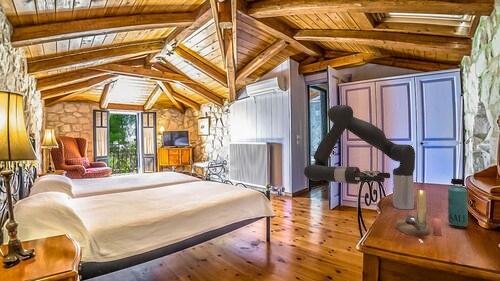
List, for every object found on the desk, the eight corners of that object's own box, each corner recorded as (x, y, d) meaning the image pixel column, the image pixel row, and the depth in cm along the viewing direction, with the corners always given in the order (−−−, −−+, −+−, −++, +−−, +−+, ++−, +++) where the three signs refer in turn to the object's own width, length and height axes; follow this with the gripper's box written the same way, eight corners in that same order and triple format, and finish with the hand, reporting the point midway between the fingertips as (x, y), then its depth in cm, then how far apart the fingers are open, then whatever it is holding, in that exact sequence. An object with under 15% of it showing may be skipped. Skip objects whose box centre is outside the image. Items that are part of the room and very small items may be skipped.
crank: (403, 220, 105) (402, 184, 105) (416, 220, 104) (416, 185, 104) (416, 230, 93) (415, 191, 93) (431, 231, 92) (430, 191, 92)
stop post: (432, 233, 98) (431, 218, 98) (438, 233, 98) (438, 218, 98) (436, 236, 96) (436, 220, 96) (443, 235, 96) (442, 220, 96)
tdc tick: (418, 239, 93) (418, 239, 93) (421, 239, 93) (421, 239, 93) (420, 242, 90) (420, 242, 90) (423, 243, 90) (423, 242, 90)
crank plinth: (391, 226, 107) (391, 219, 107) (417, 225, 108) (417, 218, 108) (407, 236, 96) (407, 228, 96) (436, 235, 97) (436, 227, 97)
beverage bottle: (458, 224, 108) (458, 177, 107) (473, 229, 101) (472, 179, 101) (443, 224, 107) (443, 177, 107) (457, 230, 101) (456, 180, 101)
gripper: (340, 168, 108) (381, 170, 97) (352, 164, 118) (391, 165, 107) (341, 186, 108) (382, 190, 97) (353, 180, 118) (392, 183, 108)
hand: (387, 177), depth 102 cm, fingers open, 8 cm apart
